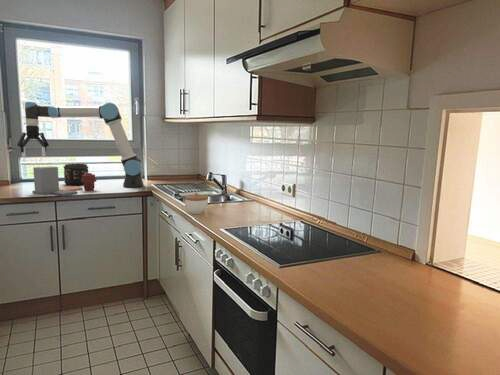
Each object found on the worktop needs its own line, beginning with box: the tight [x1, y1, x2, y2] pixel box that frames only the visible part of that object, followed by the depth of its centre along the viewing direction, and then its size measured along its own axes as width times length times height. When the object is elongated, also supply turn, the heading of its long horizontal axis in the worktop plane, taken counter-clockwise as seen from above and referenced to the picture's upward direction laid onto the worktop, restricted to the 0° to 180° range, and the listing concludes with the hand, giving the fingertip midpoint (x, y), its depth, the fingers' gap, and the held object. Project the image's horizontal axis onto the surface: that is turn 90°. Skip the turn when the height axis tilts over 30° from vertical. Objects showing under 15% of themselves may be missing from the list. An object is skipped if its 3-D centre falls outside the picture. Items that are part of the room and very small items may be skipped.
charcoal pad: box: [51, 190, 78, 197], centre depth 247 cm, size 11×11×2 cm
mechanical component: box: [81, 172, 97, 192], centre depth 263 cm, size 12×10×10 cm
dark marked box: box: [63, 163, 89, 187], centre depth 289 cm, size 18×18×16 cm
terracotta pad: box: [59, 185, 84, 192], centre depth 263 cm, size 14×14×2 cm
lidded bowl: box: [184, 192, 209, 215], centre depth 201 cm, size 13×13×11 cm
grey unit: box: [31, 165, 61, 196], centre depth 249 cm, size 14×12×18 cm
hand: (34, 156), depth 252 cm, fingers open, 13 cm apart
